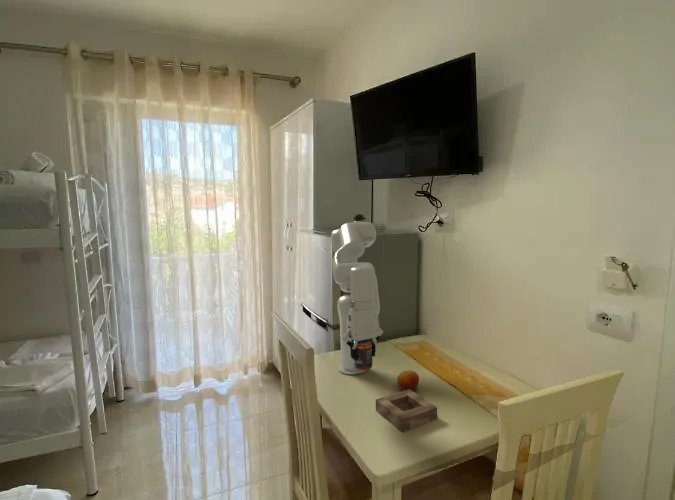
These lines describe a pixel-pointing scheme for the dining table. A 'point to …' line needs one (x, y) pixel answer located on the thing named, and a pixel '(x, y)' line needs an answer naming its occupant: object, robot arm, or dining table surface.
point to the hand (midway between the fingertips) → (363, 356)
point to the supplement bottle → (364, 355)
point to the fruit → (408, 380)
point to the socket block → (411, 418)
